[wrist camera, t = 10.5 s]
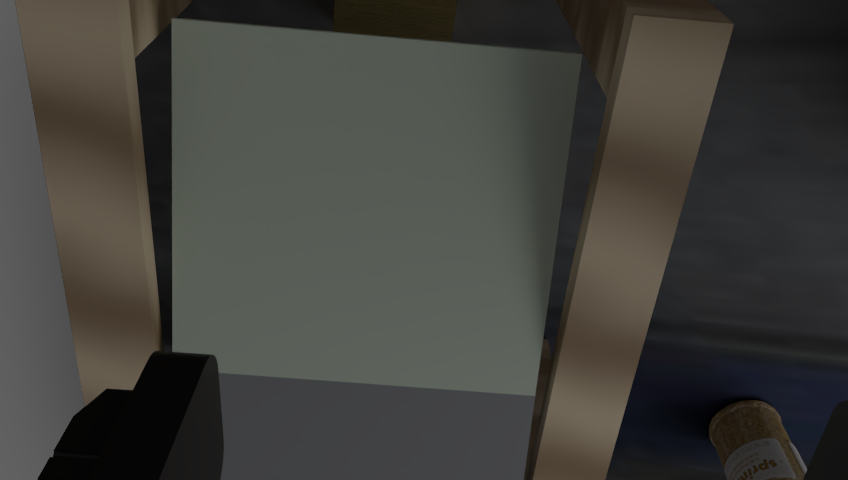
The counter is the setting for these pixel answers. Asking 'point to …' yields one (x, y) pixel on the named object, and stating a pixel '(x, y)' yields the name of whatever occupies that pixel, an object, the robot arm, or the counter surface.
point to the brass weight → (396, 18)
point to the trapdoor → (366, 245)
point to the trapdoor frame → (596, 245)
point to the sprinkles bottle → (754, 443)
